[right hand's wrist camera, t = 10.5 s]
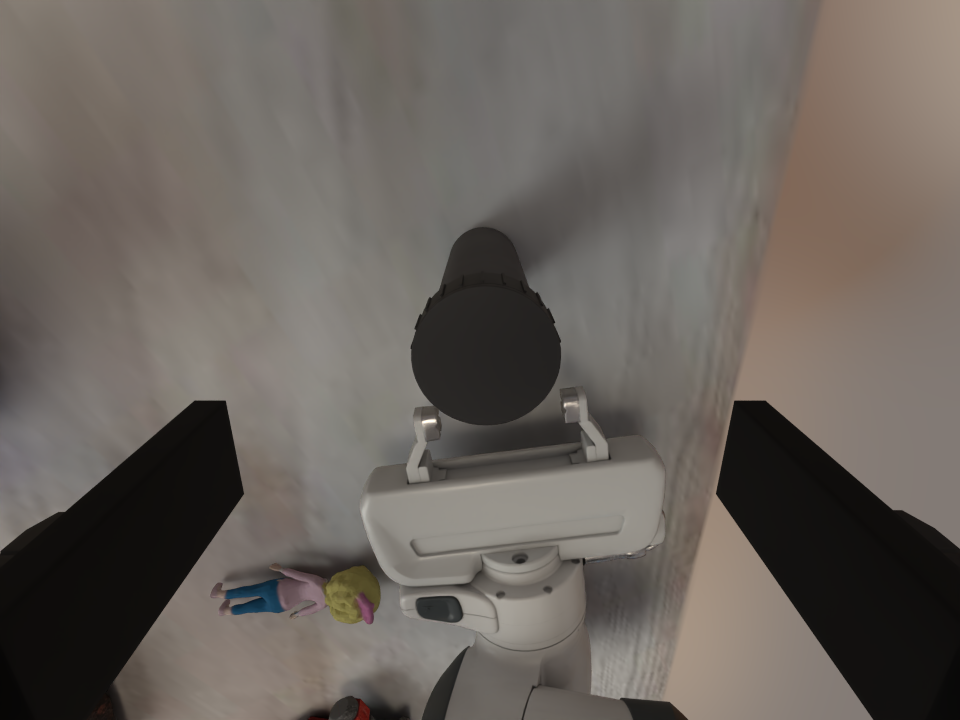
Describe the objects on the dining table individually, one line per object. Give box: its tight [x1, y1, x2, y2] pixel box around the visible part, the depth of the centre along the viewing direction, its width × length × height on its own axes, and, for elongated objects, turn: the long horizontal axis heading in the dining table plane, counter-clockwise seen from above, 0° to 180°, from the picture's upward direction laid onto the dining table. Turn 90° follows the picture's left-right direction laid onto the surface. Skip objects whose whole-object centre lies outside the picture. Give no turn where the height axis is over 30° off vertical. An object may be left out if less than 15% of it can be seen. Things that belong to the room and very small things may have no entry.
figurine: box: [210, 563, 380, 624], centre depth 45 cm, size 6×4×15 cm
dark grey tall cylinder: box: [439, 227, 529, 290], centre depth 28 cm, size 5×5×18 cm
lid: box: [411, 271, 561, 425], centre depth 20 cm, size 6×6×2 cm
